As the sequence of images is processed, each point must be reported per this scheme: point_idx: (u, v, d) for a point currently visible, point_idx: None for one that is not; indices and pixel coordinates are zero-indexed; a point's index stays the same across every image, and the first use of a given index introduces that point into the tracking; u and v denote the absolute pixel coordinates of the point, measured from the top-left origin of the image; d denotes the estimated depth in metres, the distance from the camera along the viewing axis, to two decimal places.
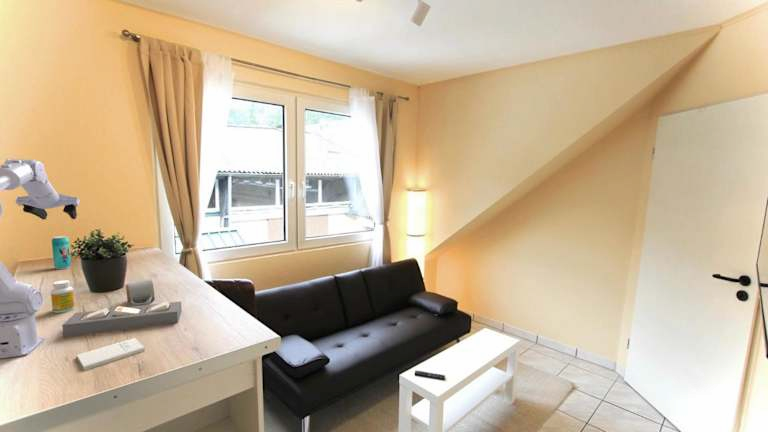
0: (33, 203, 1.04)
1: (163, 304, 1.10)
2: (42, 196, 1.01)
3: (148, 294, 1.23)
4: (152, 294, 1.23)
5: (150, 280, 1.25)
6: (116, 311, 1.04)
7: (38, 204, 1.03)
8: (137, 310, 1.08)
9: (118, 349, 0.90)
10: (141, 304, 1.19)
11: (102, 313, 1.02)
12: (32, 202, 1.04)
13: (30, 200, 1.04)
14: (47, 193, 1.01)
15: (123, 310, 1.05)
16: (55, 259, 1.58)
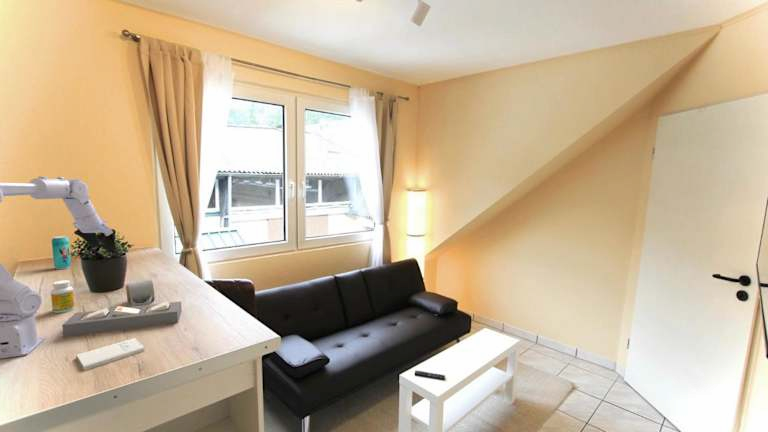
0: None
1: (163, 304, 1.10)
2: (80, 217, 1.06)
3: (148, 294, 1.23)
4: (152, 294, 1.23)
5: (150, 280, 1.25)
6: (116, 311, 1.04)
7: (79, 226, 1.08)
8: (137, 310, 1.08)
9: (118, 349, 0.90)
10: (141, 304, 1.19)
11: (102, 313, 1.02)
12: None
13: None
14: (85, 215, 1.06)
15: (123, 310, 1.05)
16: (55, 259, 1.58)
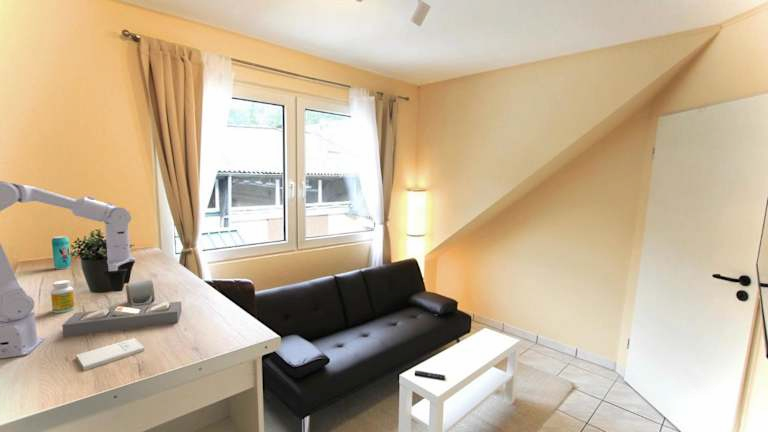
0: None
1: (163, 304, 1.10)
2: (109, 245, 1.04)
3: (148, 294, 1.22)
4: (152, 294, 1.23)
5: (150, 280, 1.25)
6: (116, 311, 1.04)
7: None
8: (137, 310, 1.08)
9: (117, 349, 0.90)
10: (141, 304, 1.19)
11: (102, 313, 1.02)
12: None
13: None
14: (114, 244, 1.04)
15: (123, 310, 1.05)
16: (55, 259, 1.58)
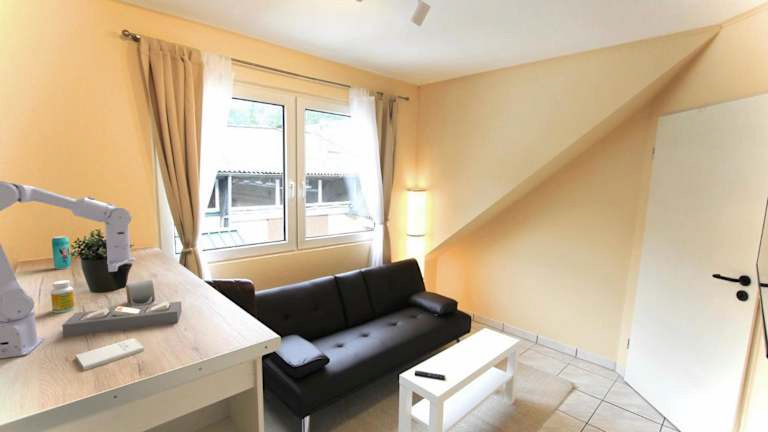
0: None
1: (163, 304, 1.10)
2: (109, 246, 1.04)
3: (148, 295, 1.22)
4: (152, 295, 1.23)
5: (150, 281, 1.24)
6: (116, 311, 1.04)
7: None
8: (137, 310, 1.08)
9: (117, 349, 0.90)
10: (141, 305, 1.19)
11: (102, 313, 1.02)
12: None
13: None
14: (114, 244, 1.04)
15: (123, 310, 1.05)
16: (55, 259, 1.58)
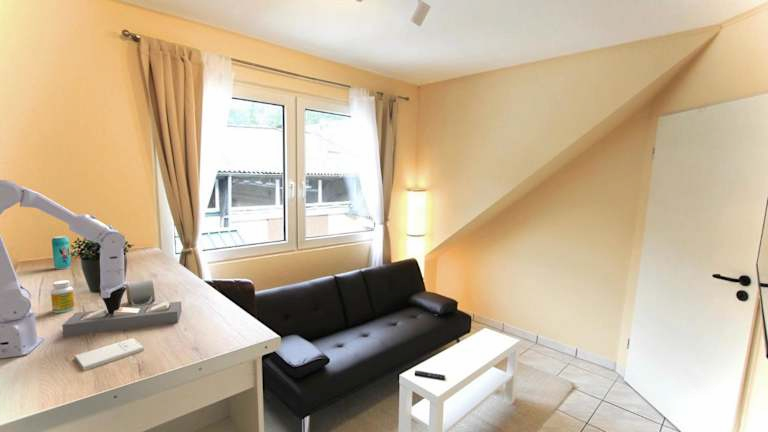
0: None
1: (163, 304, 1.10)
2: (102, 270, 1.01)
3: (148, 295, 1.22)
4: (152, 295, 1.23)
5: (150, 281, 1.24)
6: (116, 312, 1.04)
7: None
8: (137, 309, 1.08)
9: (117, 349, 0.90)
10: (141, 305, 1.18)
11: (102, 313, 1.02)
12: None
13: None
14: (106, 269, 1.01)
15: (123, 310, 1.05)
16: (55, 259, 1.58)
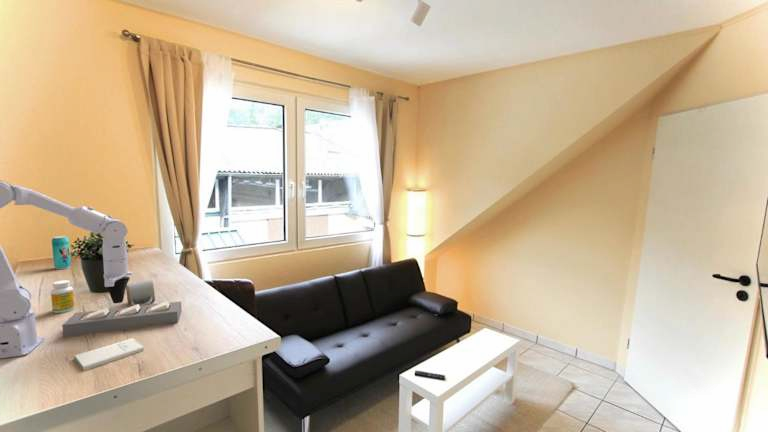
0: None
1: (163, 304, 1.10)
2: (105, 259, 1.01)
3: (148, 295, 1.22)
4: (152, 295, 1.22)
5: (150, 281, 1.24)
6: None
7: None
8: (135, 306, 1.08)
9: (116, 349, 0.90)
10: (141, 305, 1.18)
11: (102, 313, 1.02)
12: None
13: None
14: (109, 258, 1.00)
15: (121, 312, 1.05)
16: (55, 259, 1.58)
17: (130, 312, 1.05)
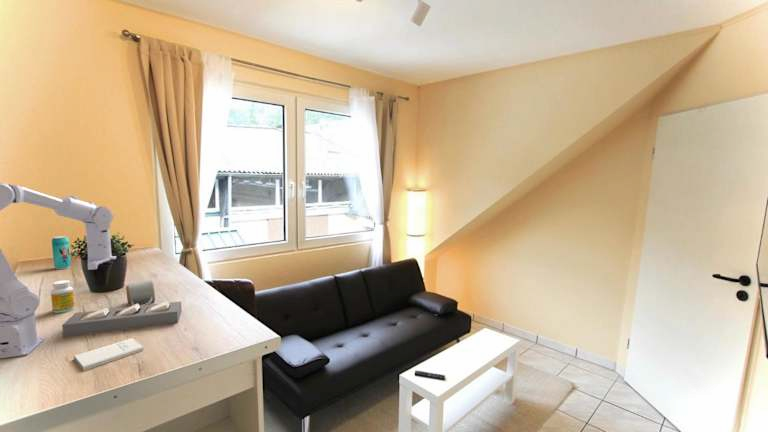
0: None
1: (163, 304, 1.10)
2: (92, 244, 1.05)
3: (148, 295, 1.21)
4: (152, 295, 1.22)
5: (150, 281, 1.24)
6: None
7: None
8: (134, 305, 1.07)
9: (116, 349, 0.90)
10: None
11: (102, 313, 1.02)
12: None
13: None
14: (97, 243, 1.05)
15: (121, 313, 1.05)
16: (55, 259, 1.58)
17: (130, 312, 1.05)
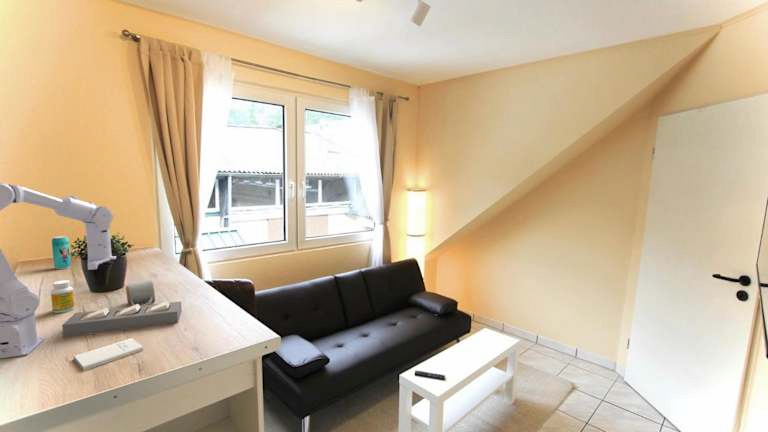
0: None
1: (163, 304, 1.10)
2: (92, 244, 1.05)
3: (148, 296, 1.21)
4: (152, 296, 1.22)
5: (150, 281, 1.23)
6: None
7: None
8: (135, 305, 1.08)
9: (116, 349, 0.90)
10: None
11: (102, 313, 1.02)
12: None
13: None
14: (97, 243, 1.05)
15: (121, 312, 1.05)
16: (55, 259, 1.58)
17: (130, 312, 1.05)
